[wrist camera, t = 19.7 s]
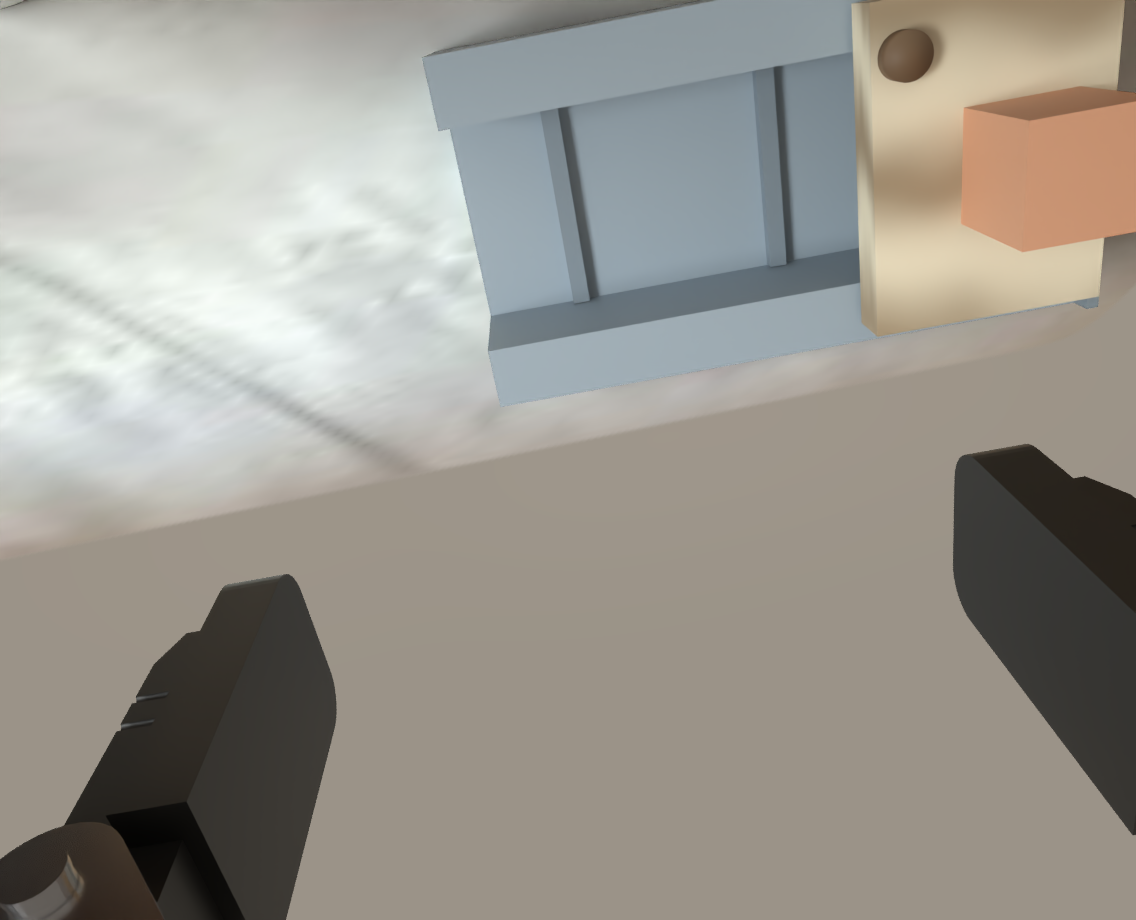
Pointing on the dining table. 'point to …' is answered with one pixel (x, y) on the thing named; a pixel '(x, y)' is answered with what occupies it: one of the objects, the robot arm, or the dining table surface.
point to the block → (1050, 167)
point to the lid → (960, 150)
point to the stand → (660, 191)
